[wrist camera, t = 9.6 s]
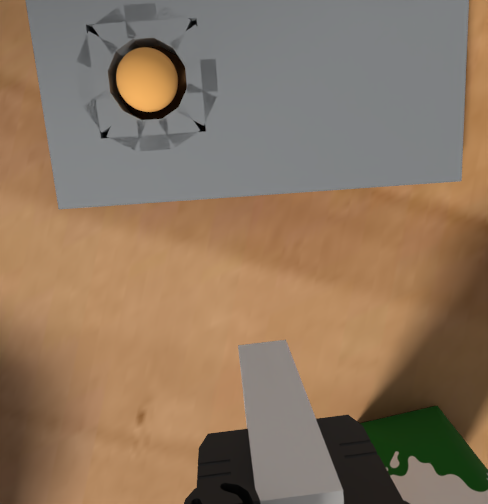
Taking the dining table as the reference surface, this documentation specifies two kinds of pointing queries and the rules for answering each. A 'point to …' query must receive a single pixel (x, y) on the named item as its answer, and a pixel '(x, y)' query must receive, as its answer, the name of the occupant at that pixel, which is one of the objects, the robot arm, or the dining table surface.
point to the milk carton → (428, 458)
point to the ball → (147, 79)
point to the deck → (253, 97)
